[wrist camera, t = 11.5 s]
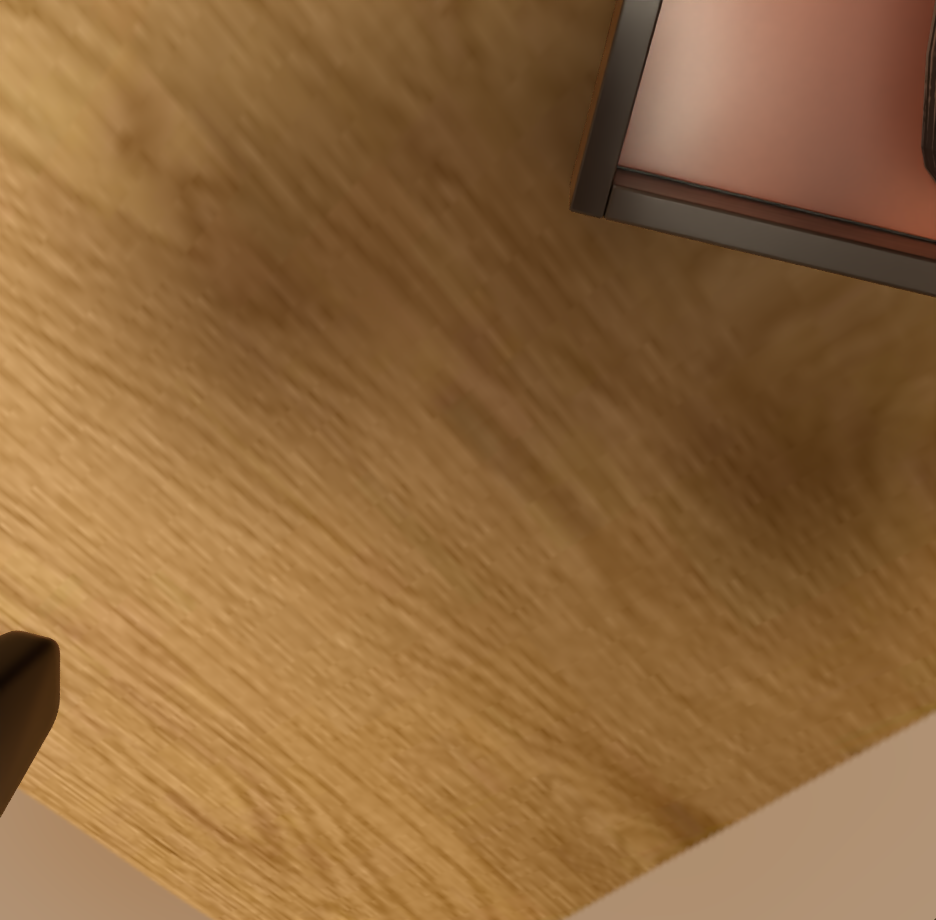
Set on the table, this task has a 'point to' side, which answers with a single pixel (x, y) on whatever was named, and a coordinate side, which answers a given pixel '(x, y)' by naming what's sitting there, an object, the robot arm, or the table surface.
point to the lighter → (930, 104)
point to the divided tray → (768, 132)
